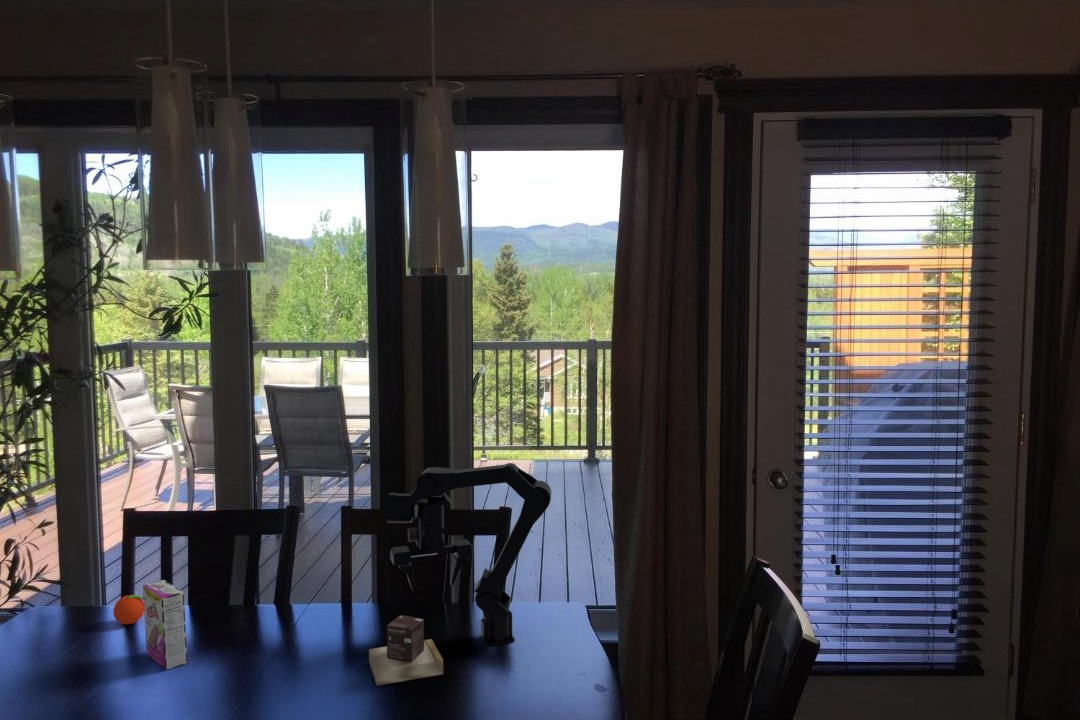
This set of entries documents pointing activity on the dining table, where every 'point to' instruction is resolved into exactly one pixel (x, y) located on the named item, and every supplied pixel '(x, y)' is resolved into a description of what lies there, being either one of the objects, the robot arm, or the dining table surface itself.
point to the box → (405, 638)
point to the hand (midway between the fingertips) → (432, 587)
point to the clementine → (129, 609)
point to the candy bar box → (165, 624)
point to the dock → (405, 665)
